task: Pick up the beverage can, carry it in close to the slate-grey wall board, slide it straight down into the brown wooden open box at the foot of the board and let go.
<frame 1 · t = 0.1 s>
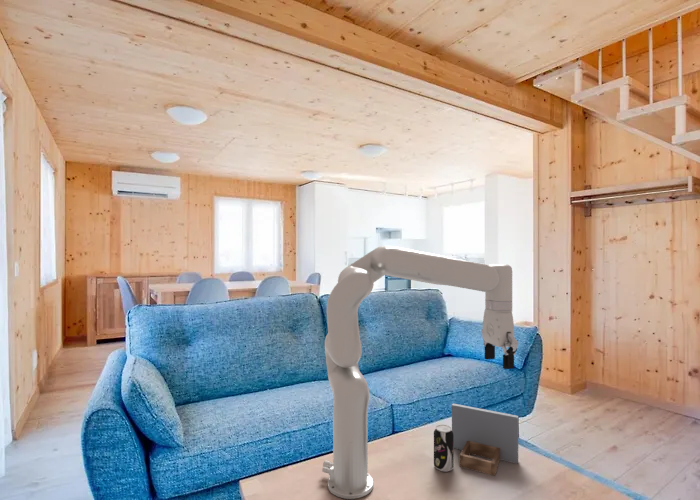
hand: (498, 363, 118), 31 cm above the table, tool pointing down, fingers open, 9 cm apart
brown wooden open box: (480, 462, 121), on the table
beverage can: (443, 468, 118), on the table
wall board: (484, 454, 126), on the table
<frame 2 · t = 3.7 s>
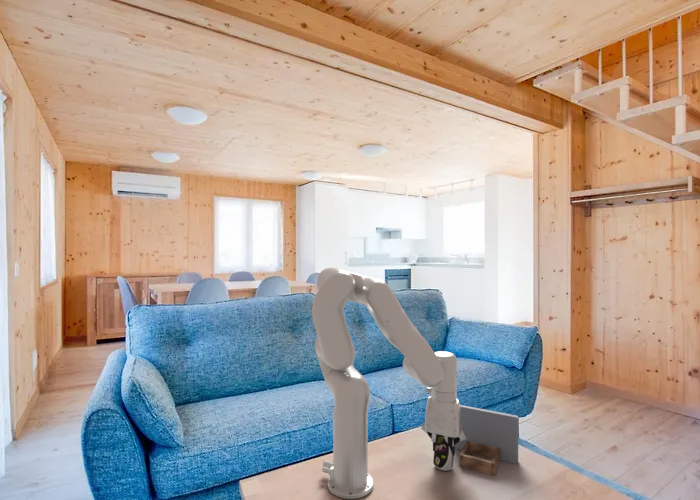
hand: (443, 455, 118), 4 cm above the table, tool pointing down, fingers closed on beverage can, 3 cm apart
beverage can: (442, 467, 119), on the table, touching gripper
when the fingers open (5 cm above the table, at t = 11.7 s): beverage can drops 2 cm, resting in brown wooden open box.
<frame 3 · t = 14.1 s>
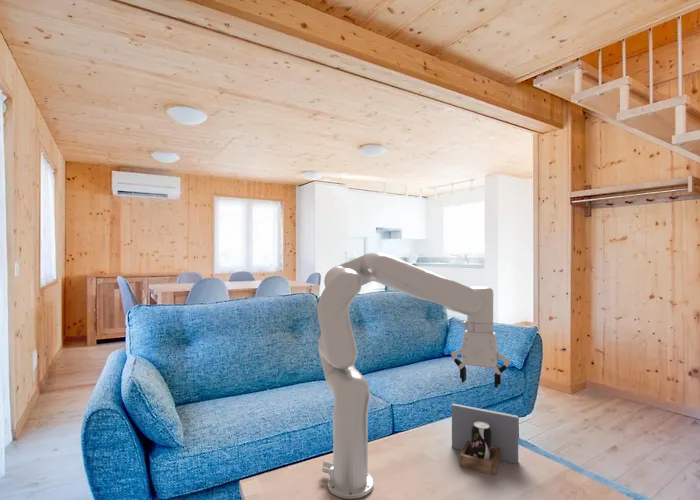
hand: (479, 383, 121), 24 cm above the table, tool pointing down, fingers open, 9 cm apart
beverage can: (480, 464, 120), resting in brown wooden open box
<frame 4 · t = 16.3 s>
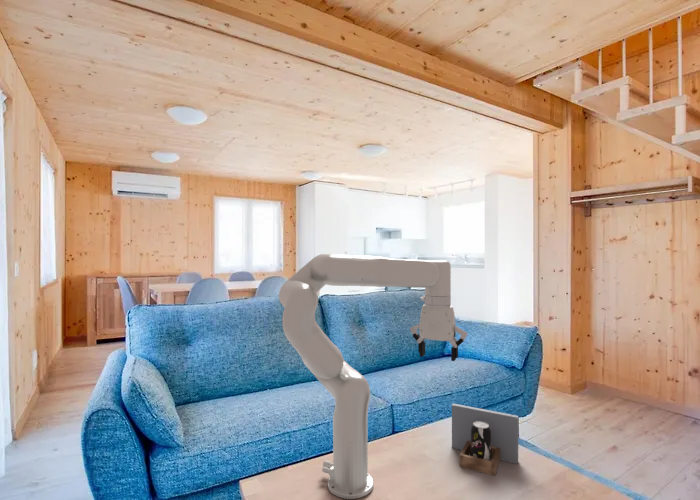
hand: (437, 357, 120), 32 cm above the table, tool pointing down, fingers open, 9 cm apart
nothing on the table moved.
at the end: beverage can 0.6 cm off-centre on the brown wooden open box, point 0.0 cm above the brown wooden open box's base; beverage can tilted 1°; the gripper is holding nothing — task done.
